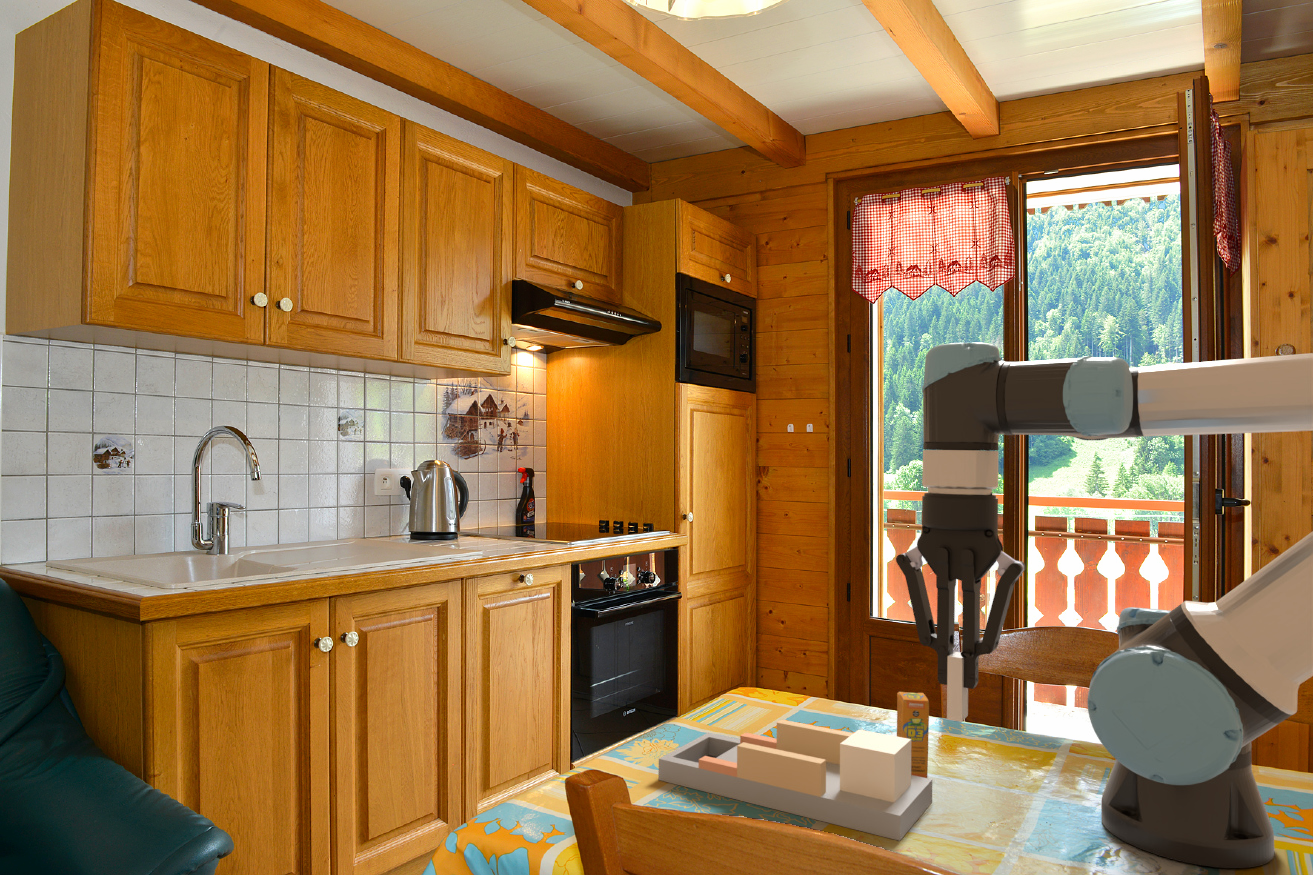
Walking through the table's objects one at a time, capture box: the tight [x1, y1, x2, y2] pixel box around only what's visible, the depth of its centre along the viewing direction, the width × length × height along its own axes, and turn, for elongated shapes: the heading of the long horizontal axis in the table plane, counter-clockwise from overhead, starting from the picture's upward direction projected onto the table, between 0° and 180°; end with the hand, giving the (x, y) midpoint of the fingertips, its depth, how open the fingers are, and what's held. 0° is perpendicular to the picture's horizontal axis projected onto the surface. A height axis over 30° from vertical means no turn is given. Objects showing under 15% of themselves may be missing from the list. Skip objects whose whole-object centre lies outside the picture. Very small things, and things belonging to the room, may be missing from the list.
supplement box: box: [896, 691, 930, 778], centre depth 103 cm, size 3×3×10 cm
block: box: [840, 729, 911, 803], centre depth 93 cm, size 6×6×5 cm
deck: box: [658, 719, 933, 842], centre depth 99 cm, size 29×12×6 cm, turn 57°
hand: (957, 717), depth 89 cm, fingers closed
